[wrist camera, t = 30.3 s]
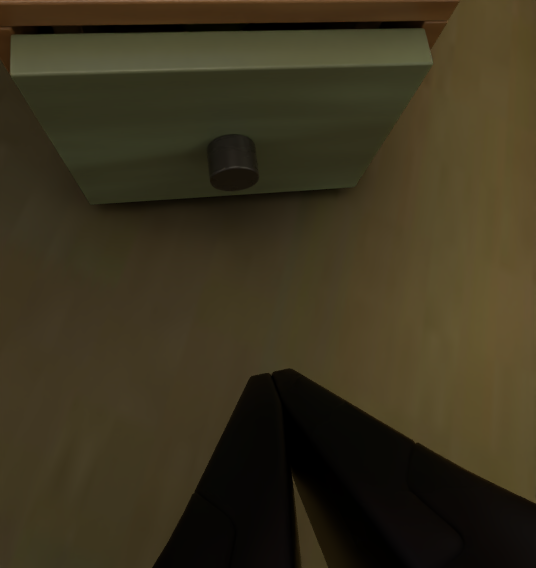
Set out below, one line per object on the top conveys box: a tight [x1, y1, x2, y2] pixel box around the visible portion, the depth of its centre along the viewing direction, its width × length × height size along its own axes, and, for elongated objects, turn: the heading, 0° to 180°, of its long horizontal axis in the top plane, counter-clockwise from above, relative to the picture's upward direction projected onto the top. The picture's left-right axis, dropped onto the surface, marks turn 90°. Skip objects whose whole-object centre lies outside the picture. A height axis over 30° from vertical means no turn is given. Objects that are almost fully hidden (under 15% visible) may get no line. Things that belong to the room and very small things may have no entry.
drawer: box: [10, 22, 433, 205], centre depth 16 cm, size 12×11×7 cm
